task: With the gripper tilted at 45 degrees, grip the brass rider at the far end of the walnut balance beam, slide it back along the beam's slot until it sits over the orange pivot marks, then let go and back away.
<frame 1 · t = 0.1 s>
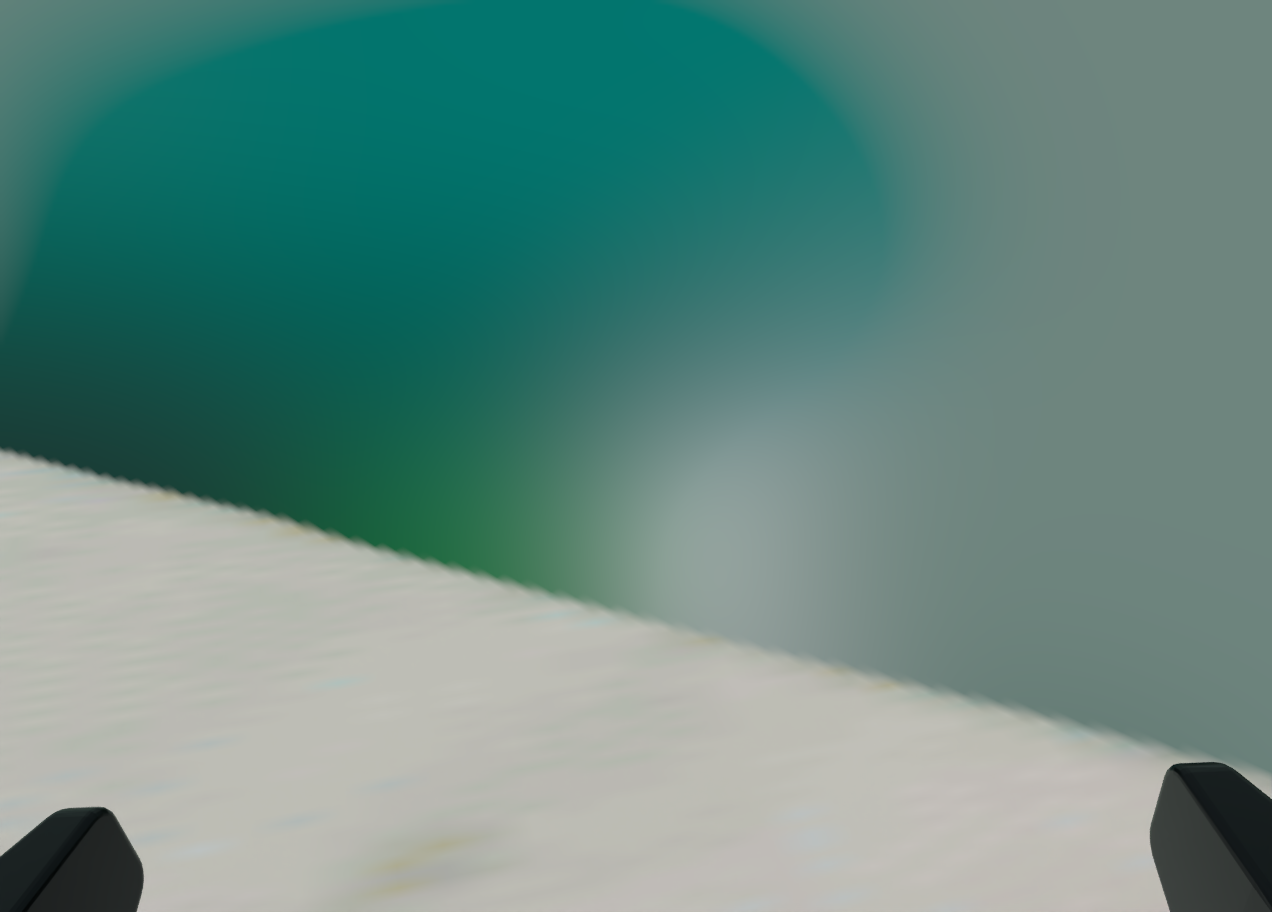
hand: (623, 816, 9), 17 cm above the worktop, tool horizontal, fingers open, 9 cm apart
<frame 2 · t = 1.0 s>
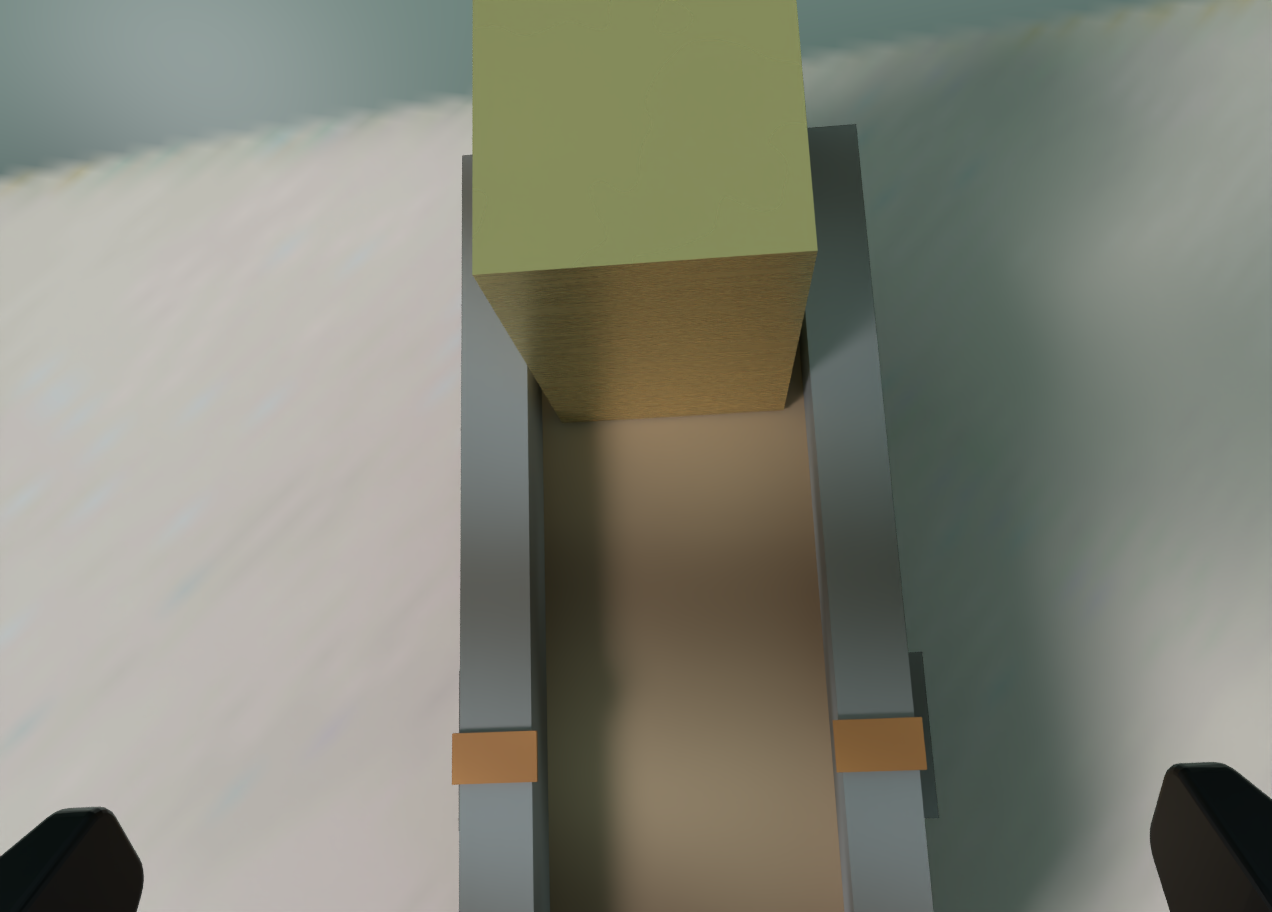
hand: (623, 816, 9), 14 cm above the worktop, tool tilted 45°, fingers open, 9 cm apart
rider: (655, 238, 16), point 8 cm above the worktop, slide at 6.0 cm
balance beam: (690, 642, 22), on the worktop
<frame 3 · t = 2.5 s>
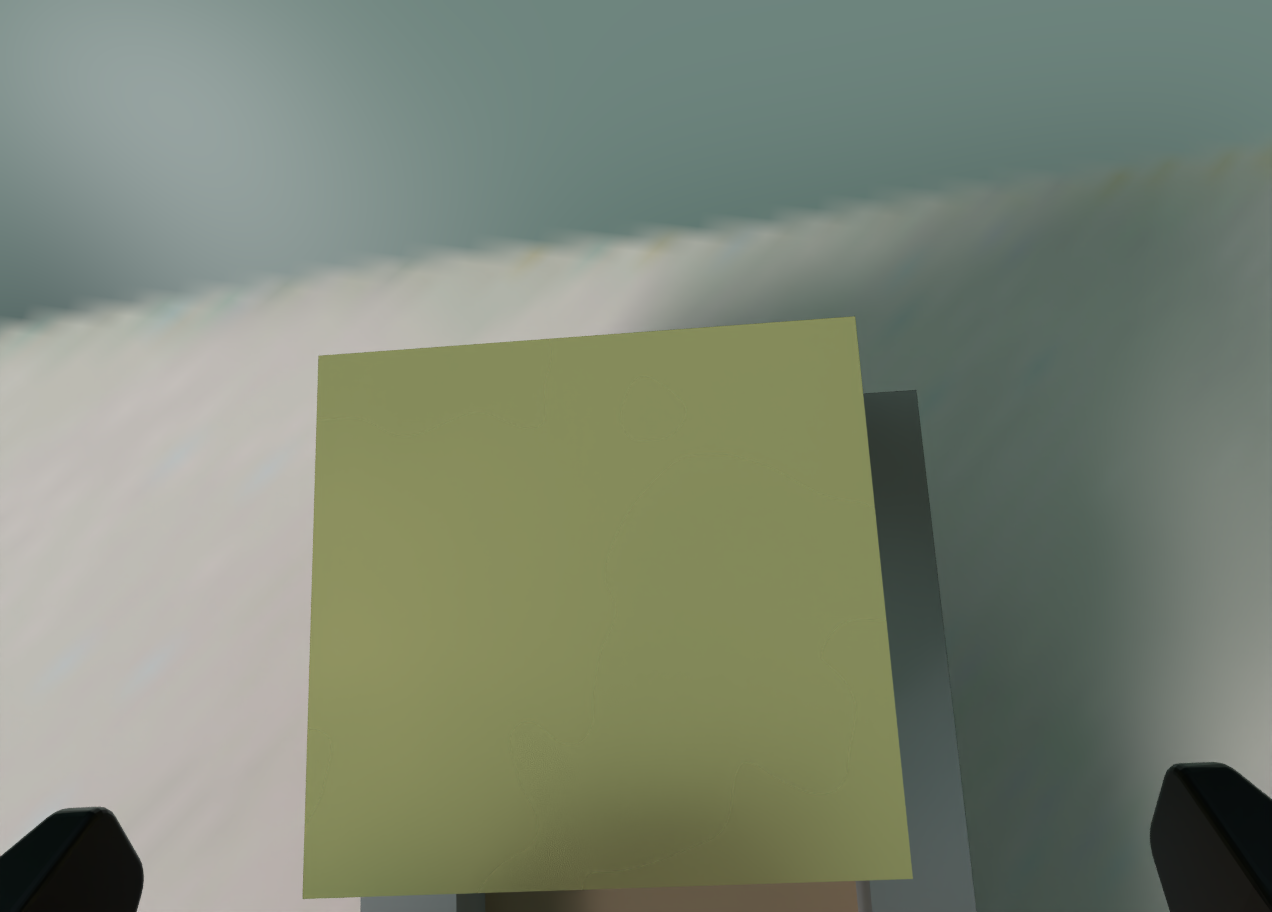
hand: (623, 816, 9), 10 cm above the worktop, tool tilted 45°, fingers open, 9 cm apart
rider: (633, 624, 11), point 8 cm above the worktop, slide at 6.0 cm
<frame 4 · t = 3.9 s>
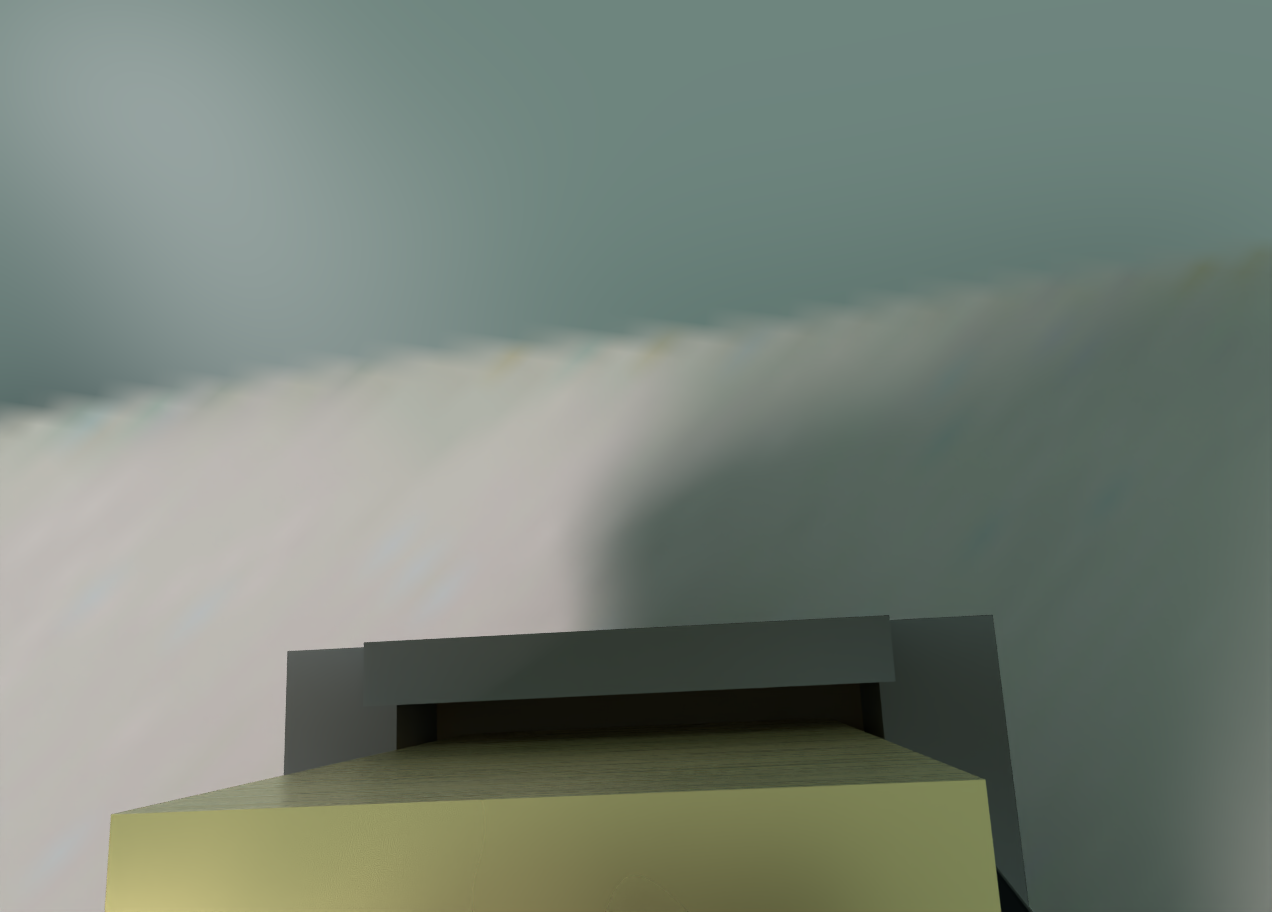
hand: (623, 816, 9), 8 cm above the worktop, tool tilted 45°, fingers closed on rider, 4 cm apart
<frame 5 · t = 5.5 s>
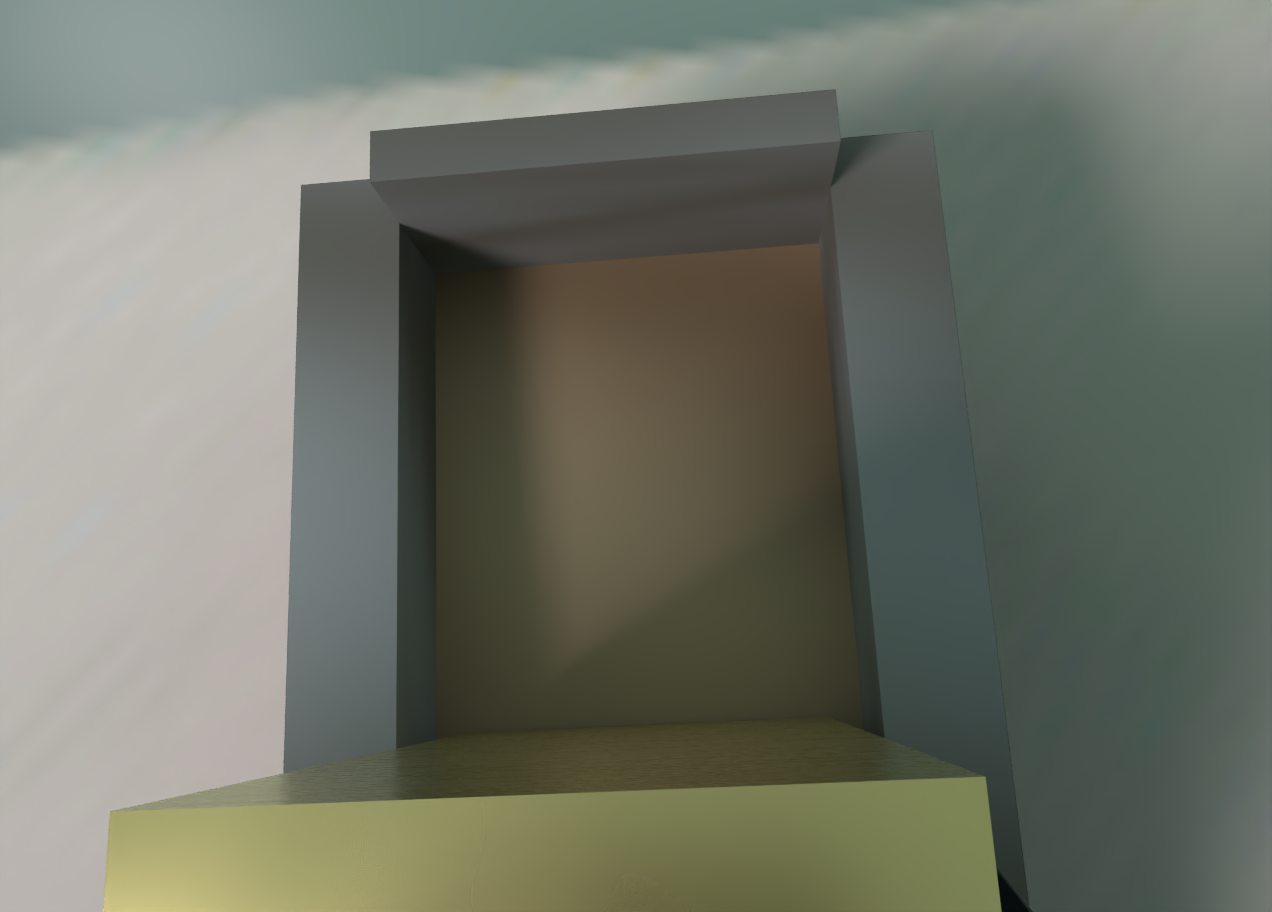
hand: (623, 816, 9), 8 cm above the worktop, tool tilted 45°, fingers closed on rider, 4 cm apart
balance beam: (676, 880, 15), on the worktop
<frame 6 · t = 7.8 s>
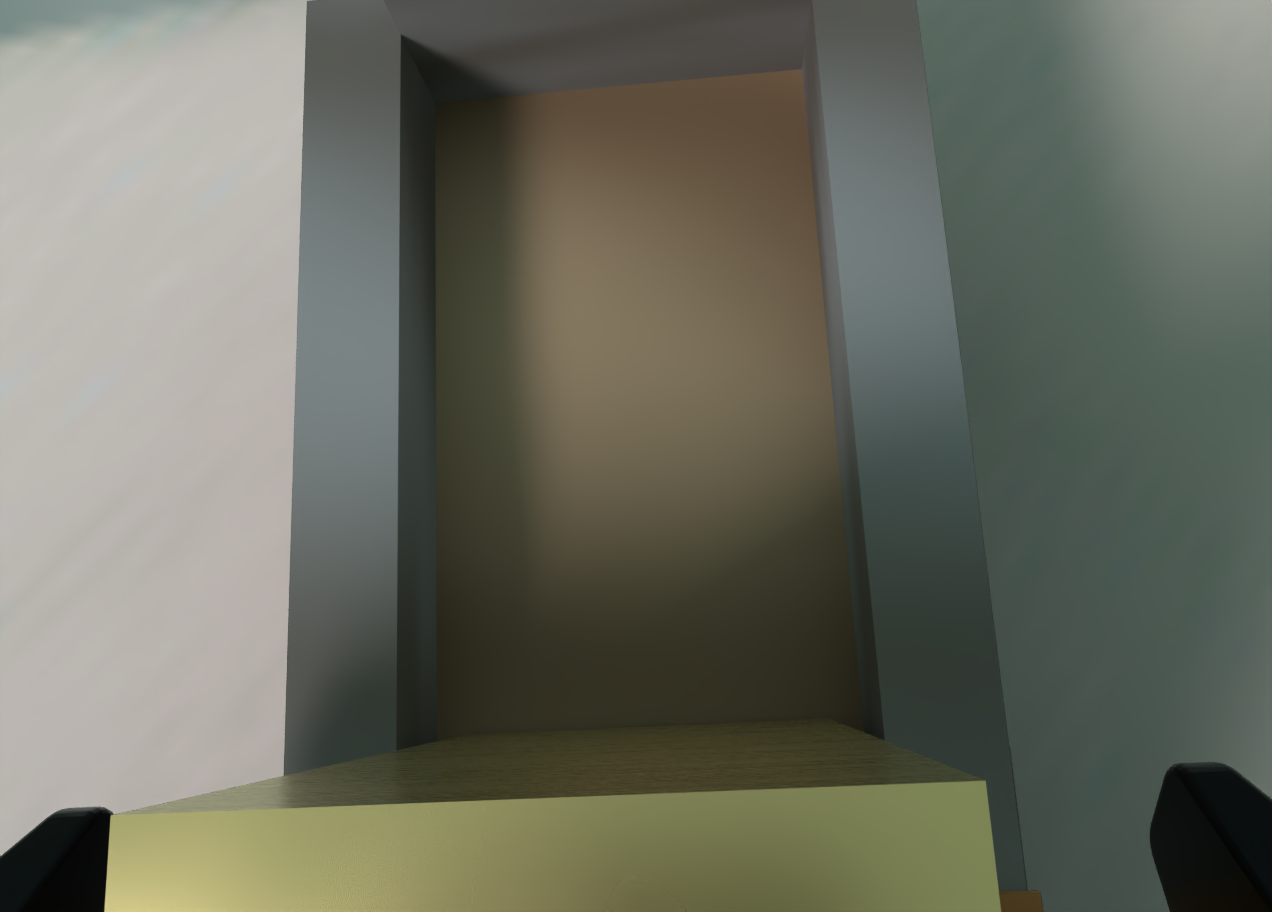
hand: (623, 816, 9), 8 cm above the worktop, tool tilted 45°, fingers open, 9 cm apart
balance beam: (667, 713, 16), on the worktop
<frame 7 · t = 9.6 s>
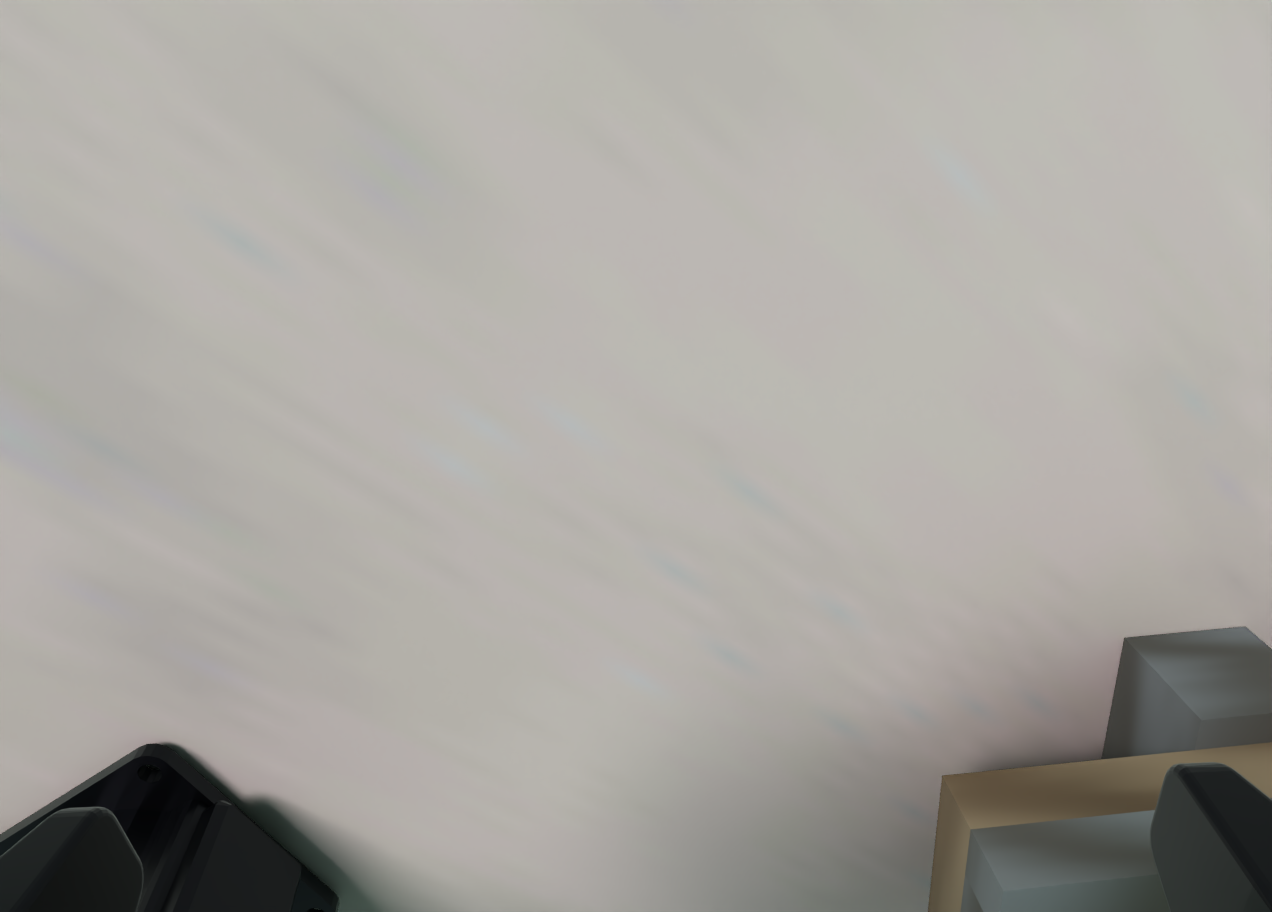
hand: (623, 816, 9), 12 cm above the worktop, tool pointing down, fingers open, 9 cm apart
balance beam: (1227, 771, 26), on the worktop
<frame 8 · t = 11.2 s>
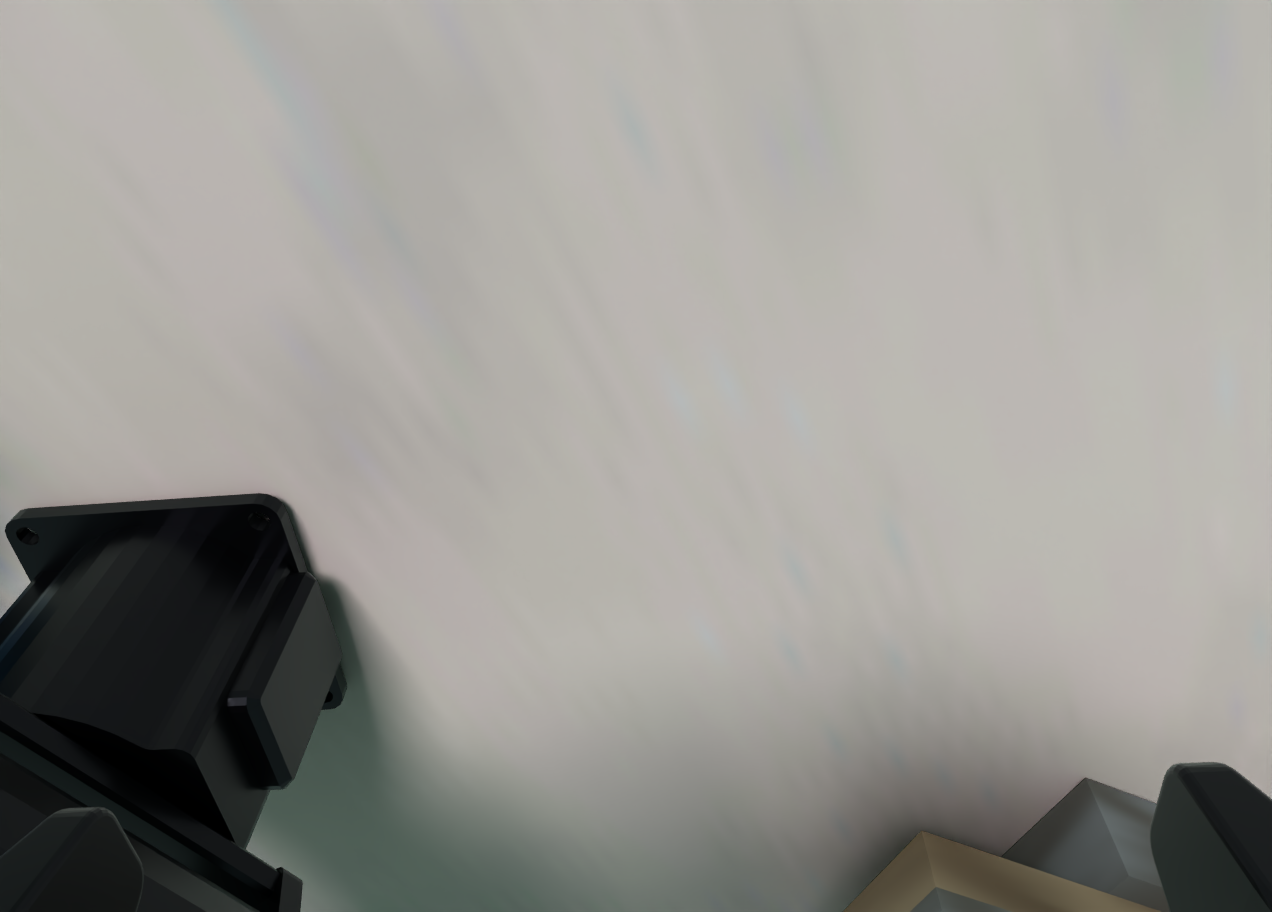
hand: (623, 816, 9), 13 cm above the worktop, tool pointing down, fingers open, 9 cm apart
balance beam: (1085, 901, 30), on the worktop
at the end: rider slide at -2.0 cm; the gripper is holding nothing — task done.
